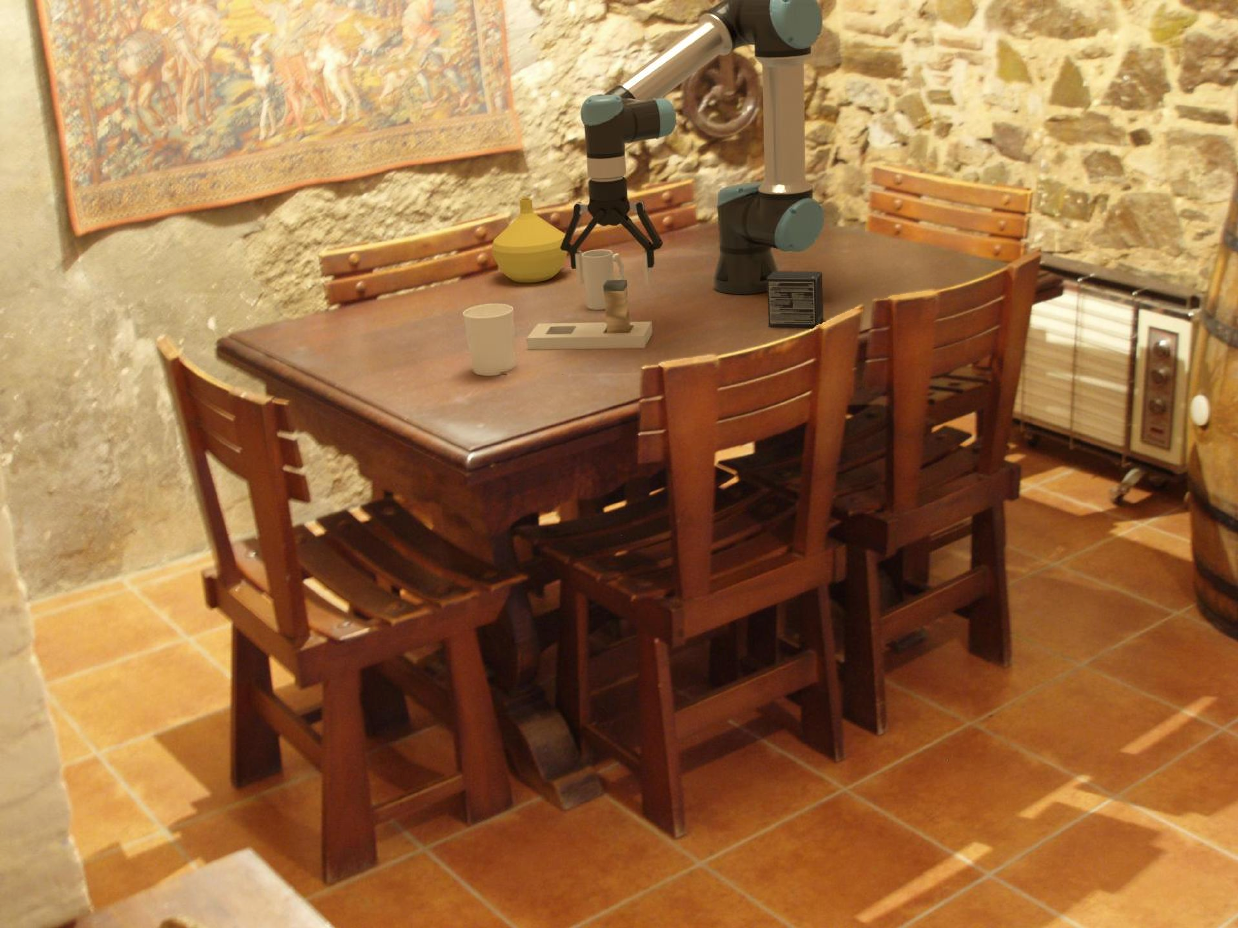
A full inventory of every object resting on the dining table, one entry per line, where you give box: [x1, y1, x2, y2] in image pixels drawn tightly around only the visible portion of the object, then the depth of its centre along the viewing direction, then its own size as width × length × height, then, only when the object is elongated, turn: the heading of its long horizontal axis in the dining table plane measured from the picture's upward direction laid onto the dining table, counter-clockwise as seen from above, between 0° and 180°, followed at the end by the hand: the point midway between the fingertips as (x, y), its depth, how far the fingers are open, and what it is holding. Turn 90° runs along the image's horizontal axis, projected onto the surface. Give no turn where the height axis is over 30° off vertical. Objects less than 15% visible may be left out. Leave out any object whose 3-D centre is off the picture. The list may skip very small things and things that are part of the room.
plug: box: [603, 279, 631, 333], centre depth 288 cm, size 4×4×12 cm
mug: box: [582, 249, 625, 311], centre depth 316 cm, size 10×7×12 cm, turn 125°
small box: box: [766, 270, 824, 329], centre depth 293 cm, size 11×6×10 cm, turn 71°
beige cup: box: [462, 303, 516, 377], centre depth 278 cm, size 10×10×12 cm
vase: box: [491, 197, 569, 284], centre depth 342 cm, size 18×18×19 cm
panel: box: [526, 321, 653, 351], centre depth 291 cm, size 24×10×3 cm, turn 80°
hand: (613, 284), depth 285 cm, fingers open, 13 cm apart
